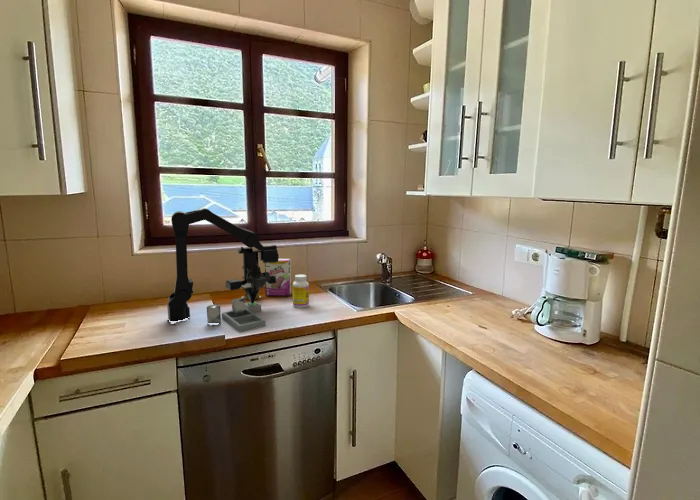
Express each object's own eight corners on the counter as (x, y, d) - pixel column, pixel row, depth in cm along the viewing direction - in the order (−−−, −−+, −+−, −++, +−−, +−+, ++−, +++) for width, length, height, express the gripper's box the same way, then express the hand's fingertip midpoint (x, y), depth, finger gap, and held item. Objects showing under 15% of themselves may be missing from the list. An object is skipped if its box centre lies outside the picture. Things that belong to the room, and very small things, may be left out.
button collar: (249, 314, 147) (248, 307, 146) (244, 311, 151) (243, 303, 150) (261, 311, 150) (261, 304, 149) (256, 308, 154) (255, 301, 153)
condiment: (259, 301, 163) (258, 274, 161) (239, 302, 162) (238, 274, 160) (261, 296, 170) (260, 270, 168) (241, 297, 169) (240, 270, 167)
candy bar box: (265, 296, 170) (264, 260, 168) (266, 293, 175) (265, 258, 173) (290, 296, 171) (289, 260, 168) (291, 293, 176) (290, 258, 173)
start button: (250, 311, 148) (250, 304, 148) (247, 309, 150) (247, 302, 150) (257, 310, 150) (257, 303, 149) (254, 308, 152) (254, 301, 151)
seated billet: (235, 321, 137) (234, 302, 136) (230, 318, 141) (229, 299, 140) (247, 319, 140) (246, 300, 139) (242, 315, 144) (241, 297, 142)
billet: (210, 328, 132) (209, 309, 131) (205, 324, 136) (204, 306, 134) (222, 325, 135) (222, 307, 134) (218, 322, 138) (217, 303, 137)
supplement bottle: (307, 308, 154) (307, 277, 152) (291, 308, 154) (291, 277, 152) (309, 303, 161) (309, 273, 159) (294, 303, 161) (293, 273, 159)
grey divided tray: (239, 333, 128) (239, 326, 128) (221, 319, 141) (221, 312, 141) (265, 327, 134) (265, 320, 133) (246, 314, 147) (246, 307, 147)
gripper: (235, 271, 135) (237, 313, 138) (282, 264, 146) (283, 303, 149) (224, 265, 144) (226, 305, 146) (269, 260, 155) (270, 296, 158)
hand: (252, 302), depth 149 cm, fingers closed, pressing on start button
